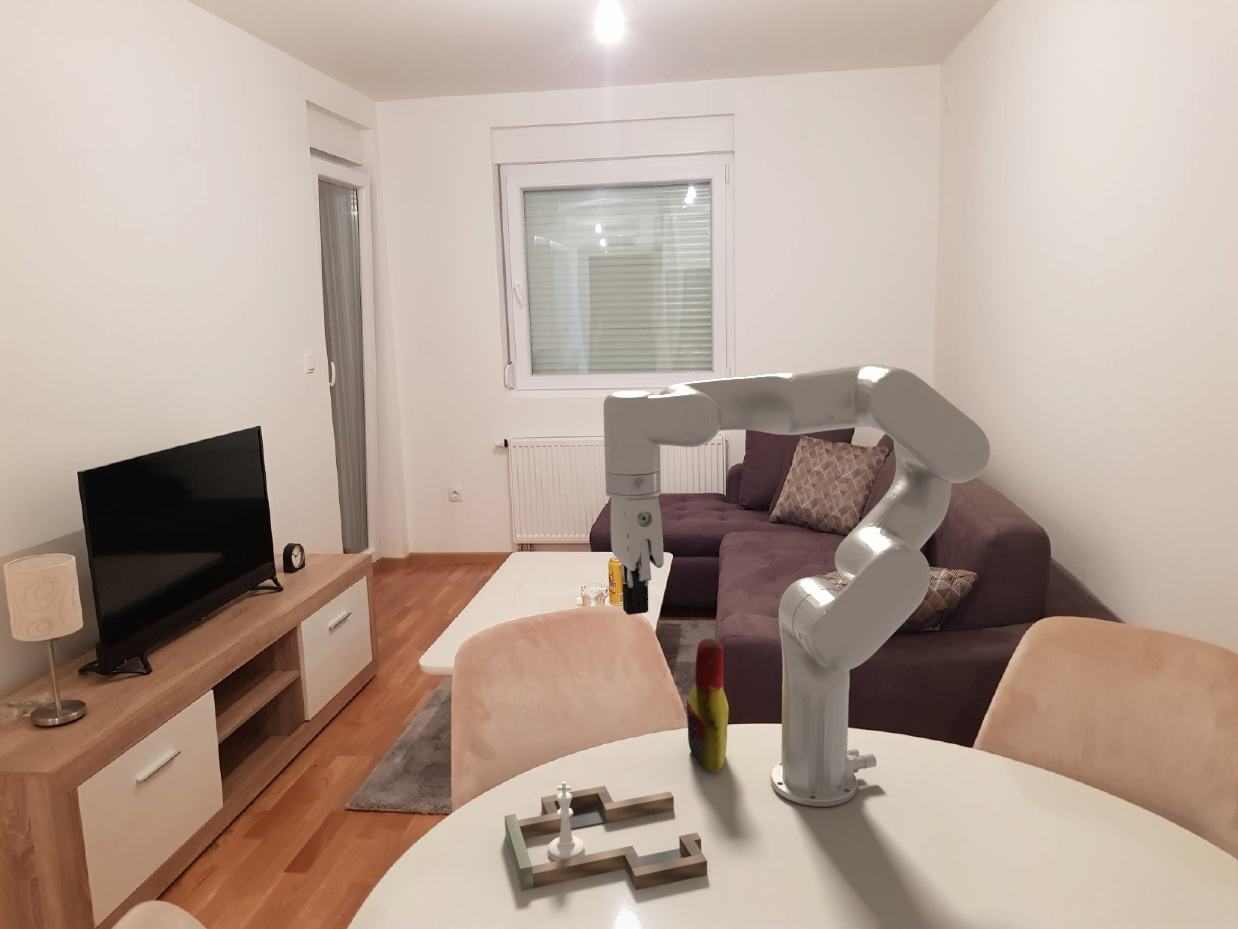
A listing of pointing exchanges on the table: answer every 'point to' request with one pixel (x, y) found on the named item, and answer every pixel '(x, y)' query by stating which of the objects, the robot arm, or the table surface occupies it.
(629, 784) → the table surface
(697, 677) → the bottle
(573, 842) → the chess piece
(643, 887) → the trap lane
